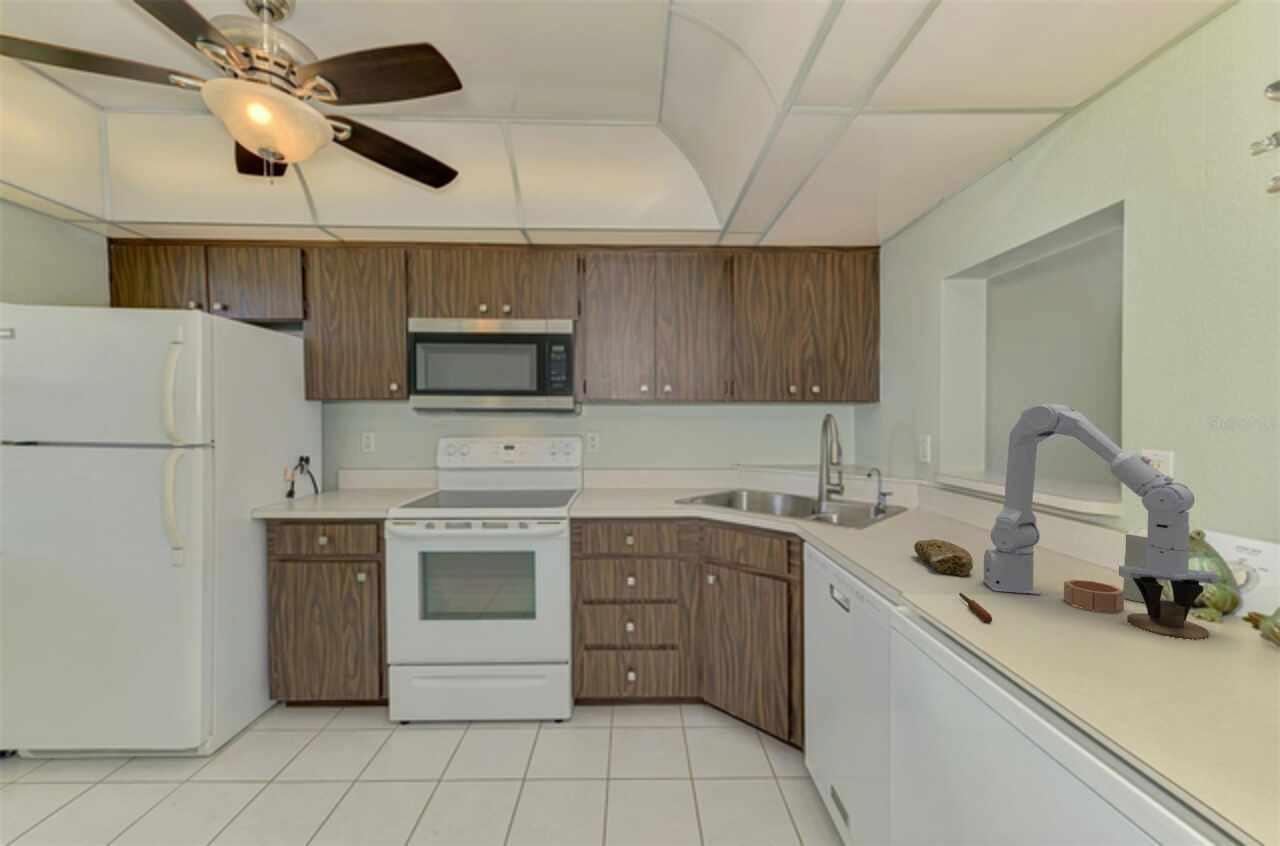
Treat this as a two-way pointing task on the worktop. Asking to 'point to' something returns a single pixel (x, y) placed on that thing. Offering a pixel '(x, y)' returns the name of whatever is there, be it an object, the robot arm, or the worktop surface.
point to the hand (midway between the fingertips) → (1166, 617)
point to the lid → (1169, 623)
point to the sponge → (945, 556)
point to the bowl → (1094, 596)
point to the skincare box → (1135, 561)
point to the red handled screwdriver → (977, 609)
